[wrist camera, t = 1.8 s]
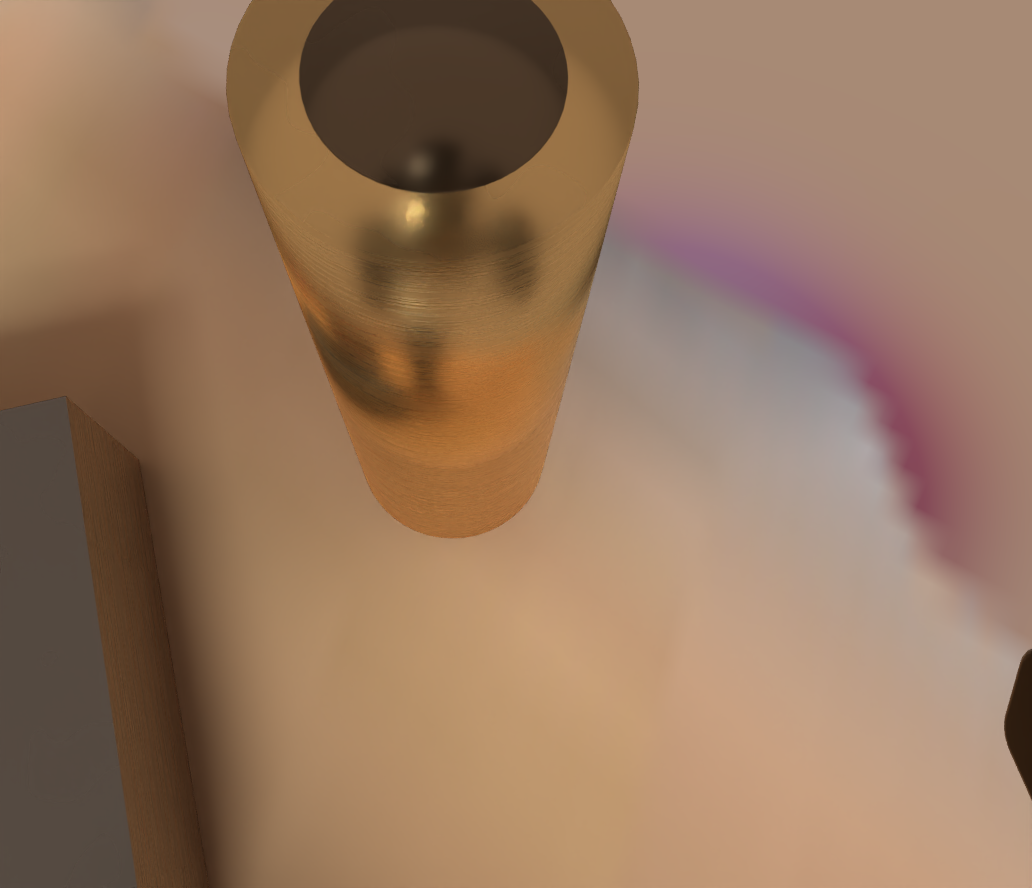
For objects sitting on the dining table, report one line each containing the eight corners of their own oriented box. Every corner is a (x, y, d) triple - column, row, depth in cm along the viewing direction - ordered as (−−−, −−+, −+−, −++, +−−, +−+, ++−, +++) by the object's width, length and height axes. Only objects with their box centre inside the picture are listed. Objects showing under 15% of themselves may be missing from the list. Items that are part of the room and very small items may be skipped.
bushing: (565, 512, 21) (693, 208, 9) (384, 558, 21) (268, 299, 9) (518, 346, 22) (576, -121, 10) (343, 385, 22) (193, -55, 10)
